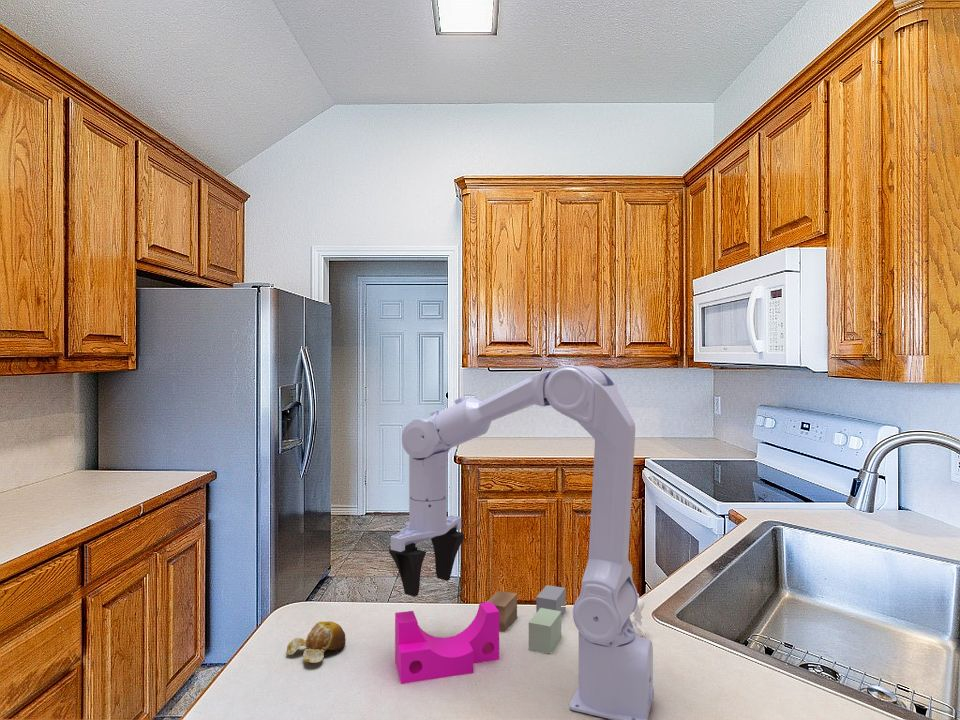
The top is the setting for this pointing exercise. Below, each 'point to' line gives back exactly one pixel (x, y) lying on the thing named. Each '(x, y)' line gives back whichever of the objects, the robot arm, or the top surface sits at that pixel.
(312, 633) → the fruit
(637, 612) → the toy figurine
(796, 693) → the top surface
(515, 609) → the walnut brick
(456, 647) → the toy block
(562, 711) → the top surface
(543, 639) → the sage brick
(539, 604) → the slate brick
